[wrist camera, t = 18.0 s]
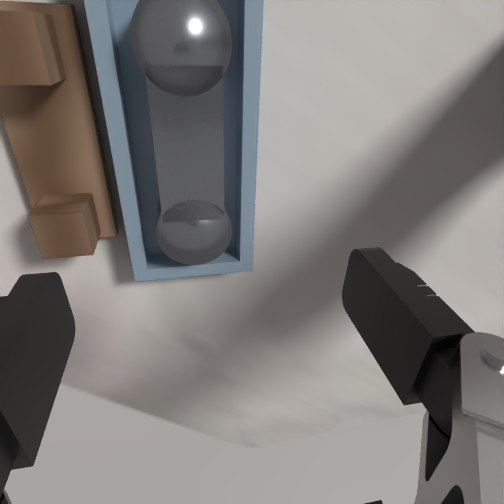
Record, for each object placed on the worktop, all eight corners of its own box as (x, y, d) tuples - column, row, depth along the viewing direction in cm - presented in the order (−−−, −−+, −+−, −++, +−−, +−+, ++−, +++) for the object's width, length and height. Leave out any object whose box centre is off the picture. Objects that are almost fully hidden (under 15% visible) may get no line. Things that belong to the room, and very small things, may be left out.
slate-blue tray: (255, -51, 19) (265, -61, 17) (246, 254, 30) (252, 270, 28) (80, -67, 17) (69, -80, 15) (137, 263, 28) (134, 281, 26)
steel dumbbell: (222, -10, 19) (232, -17, 16) (225, 238, 28) (231, 261, 25) (129, -16, 18) (122, -25, 16) (161, 242, 27) (160, 268, 24)
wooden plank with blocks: (73, 5, 19) (53, -1, 16) (117, 231, 26) (110, 260, 23) (-31, 0, 18) (-76, -8, 15) (46, 236, 25) (27, 266, 22)
